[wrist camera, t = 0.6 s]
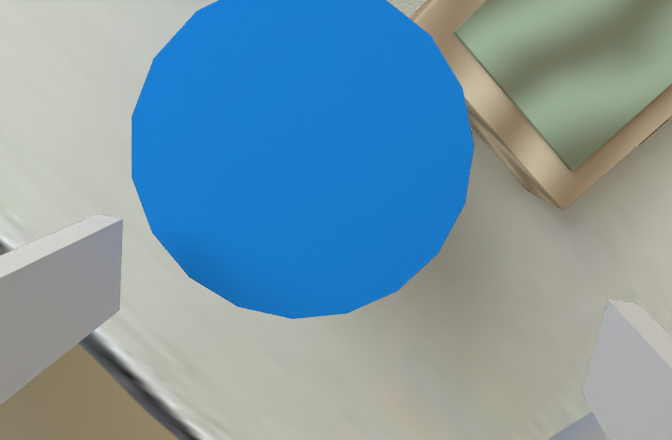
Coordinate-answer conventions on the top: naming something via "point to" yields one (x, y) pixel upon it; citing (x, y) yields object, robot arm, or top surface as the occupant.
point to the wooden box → (558, 82)
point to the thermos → (301, 152)
